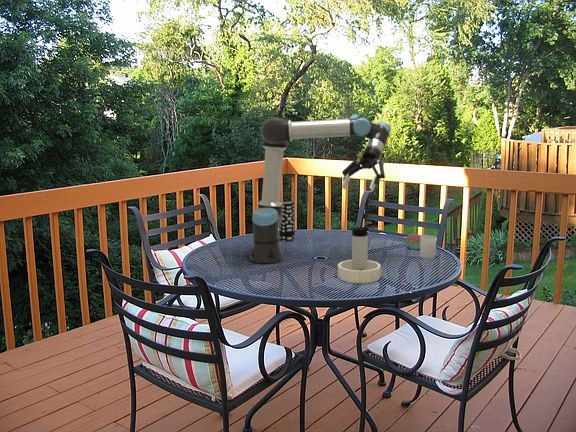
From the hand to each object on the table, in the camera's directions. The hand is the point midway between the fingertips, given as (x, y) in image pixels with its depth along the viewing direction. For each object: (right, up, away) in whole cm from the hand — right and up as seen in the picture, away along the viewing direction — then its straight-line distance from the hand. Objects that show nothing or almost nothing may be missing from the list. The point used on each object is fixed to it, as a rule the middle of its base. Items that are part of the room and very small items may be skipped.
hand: (357, 188), depth 235 cm
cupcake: (+32, -28, +31) cm, 52 cm away
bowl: (-1, -37, -13) cm, 39 cm away
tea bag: (+35, -31, +15) cm, 49 cm away
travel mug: (0, -36, -14) cm, 39 cm away
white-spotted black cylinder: (-30, -25, +54) cm, 67 cm away
